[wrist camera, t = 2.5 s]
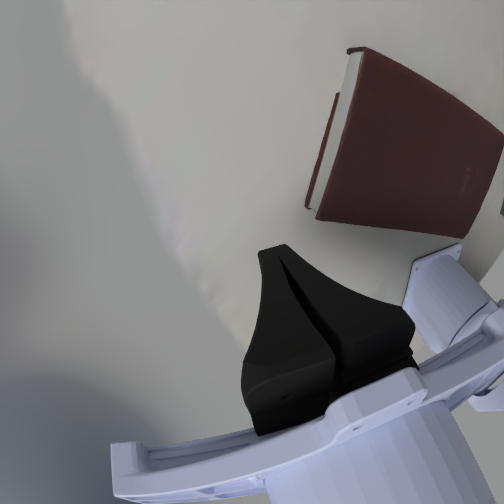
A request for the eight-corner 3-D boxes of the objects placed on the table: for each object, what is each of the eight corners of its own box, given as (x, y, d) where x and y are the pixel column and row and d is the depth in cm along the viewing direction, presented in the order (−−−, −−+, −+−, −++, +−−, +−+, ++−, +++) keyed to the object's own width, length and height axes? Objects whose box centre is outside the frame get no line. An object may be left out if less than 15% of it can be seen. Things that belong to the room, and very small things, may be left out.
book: (344, 44, 16) (370, 44, 13) (488, 126, 22) (511, 138, 19) (298, 202, 23) (314, 224, 20) (447, 226, 29) (466, 243, 26)
